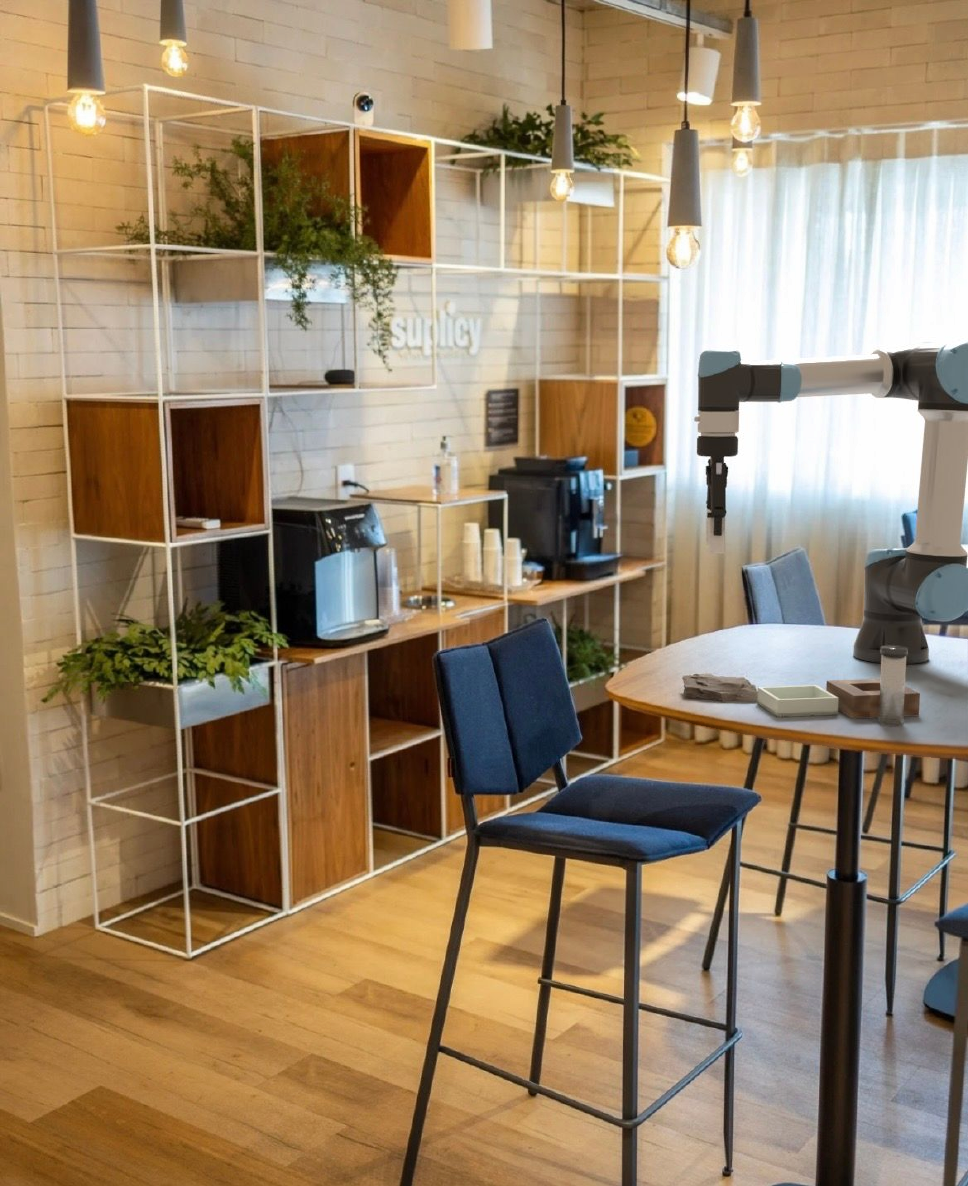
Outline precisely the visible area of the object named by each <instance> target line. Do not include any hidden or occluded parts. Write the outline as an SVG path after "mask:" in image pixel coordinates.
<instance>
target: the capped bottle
mask: <svg viewBox="0 0 968 1186" xmlns="http://www.w3.org/2000/svg"><path fill="white" fill-rule="evenodd" d="M880 653H881V654H882V656H881V663H880V678H879V679H880V701H879V717H878V724H880V725H883V726H887V727H900V726H903V725H904V716H903V715H904V694H905V686H906V673H907V672H906V670H907V664H906V655H908V648H906V647H903V646H894V645H888V646H881V651H880Z"/></svg>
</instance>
